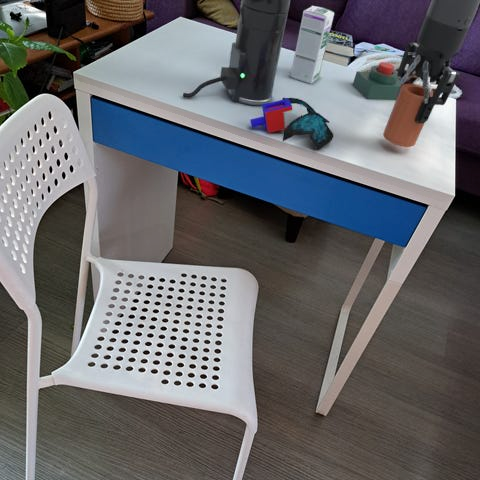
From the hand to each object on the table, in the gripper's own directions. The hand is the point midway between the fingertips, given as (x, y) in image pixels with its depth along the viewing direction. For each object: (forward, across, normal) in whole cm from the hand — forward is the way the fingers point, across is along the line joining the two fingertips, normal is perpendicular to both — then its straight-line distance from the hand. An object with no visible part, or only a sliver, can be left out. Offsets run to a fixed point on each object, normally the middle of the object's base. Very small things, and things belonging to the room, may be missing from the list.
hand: (409, 113), depth 96 cm
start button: (+3, -27, +11) cm, 30 cm away
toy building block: (+4, -7, -21) cm, 23 cm away
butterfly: (+7, -4, -14) cm, 16 cm away
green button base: (+8, -27, +11) cm, 30 cm away
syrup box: (+8, -34, -6) cm, 36 cm away
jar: (+5, 0, 0) cm, 5 cm away
